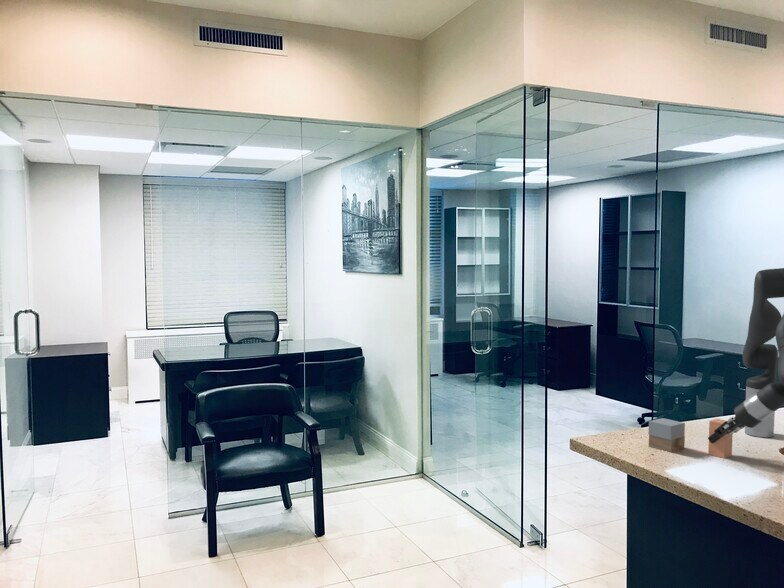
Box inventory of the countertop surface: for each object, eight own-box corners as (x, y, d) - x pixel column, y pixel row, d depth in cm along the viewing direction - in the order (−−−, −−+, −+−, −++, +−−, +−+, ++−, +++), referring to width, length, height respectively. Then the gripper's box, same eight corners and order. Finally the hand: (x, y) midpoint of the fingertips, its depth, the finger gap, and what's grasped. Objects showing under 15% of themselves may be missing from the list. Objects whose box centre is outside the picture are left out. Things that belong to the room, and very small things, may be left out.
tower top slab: (662, 431, 215) (662, 418, 215) (684, 436, 209) (684, 423, 208) (648, 434, 211) (648, 421, 211) (670, 439, 204) (671, 426, 204)
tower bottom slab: (662, 443, 216) (662, 430, 215) (684, 449, 209) (684, 436, 209) (648, 447, 211) (649, 434, 211) (671, 453, 204) (671, 439, 204)
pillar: (716, 451, 206) (717, 418, 205) (731, 455, 202) (732, 421, 201) (708, 454, 203) (709, 420, 202) (724, 458, 199) (725, 423, 198)
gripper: (756, 397, 200) (717, 426, 210) (735, 402, 191) (695, 432, 201) (774, 417, 196) (733, 445, 206) (753, 423, 187) (711, 453, 197)
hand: (714, 439), depth 204 cm, fingers closed on pillar, 5 cm apart
